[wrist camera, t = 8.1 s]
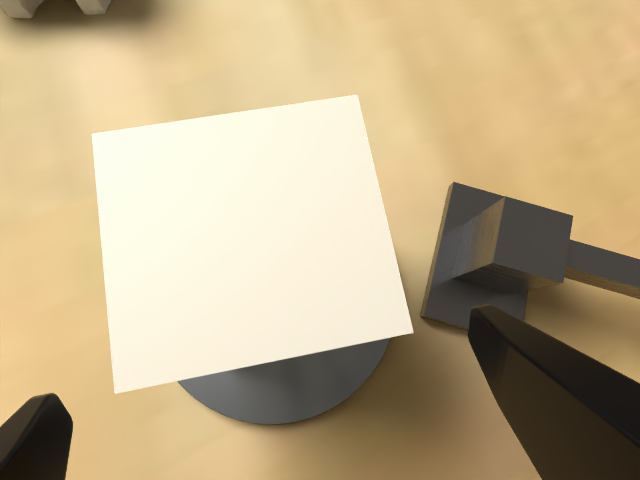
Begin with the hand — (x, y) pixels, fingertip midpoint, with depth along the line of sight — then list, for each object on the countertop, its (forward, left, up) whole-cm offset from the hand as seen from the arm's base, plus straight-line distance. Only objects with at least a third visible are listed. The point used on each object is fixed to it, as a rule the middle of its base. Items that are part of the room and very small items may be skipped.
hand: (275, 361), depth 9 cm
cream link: (+2, +1, -8) cm, 8 cm away
